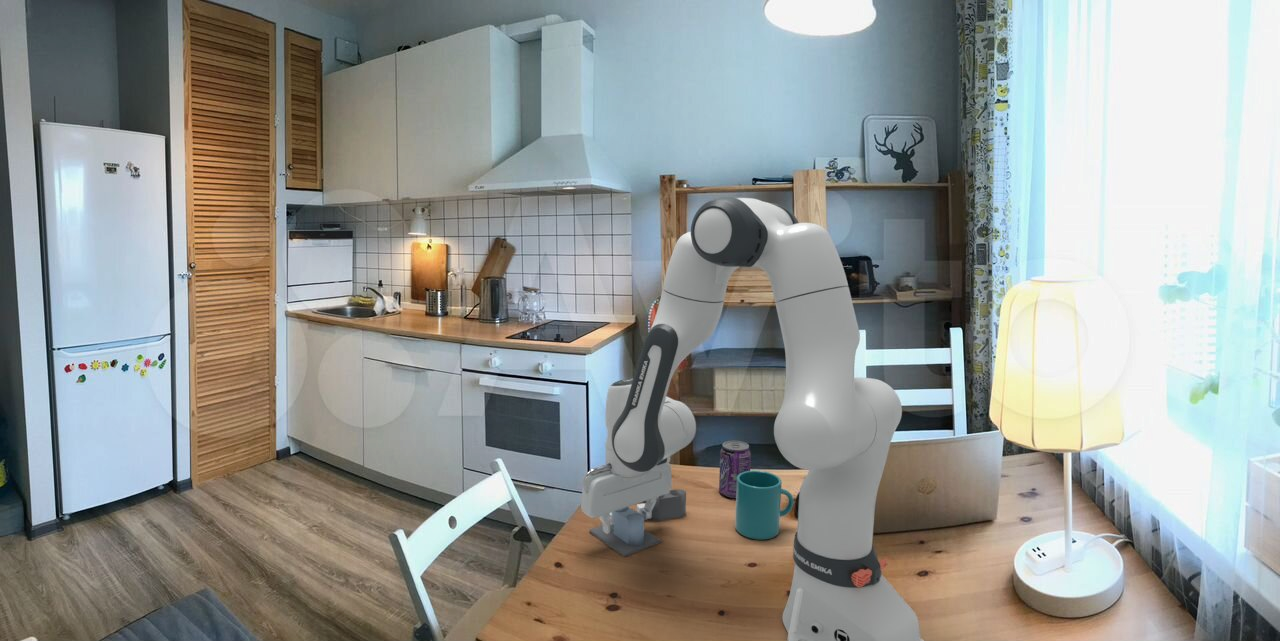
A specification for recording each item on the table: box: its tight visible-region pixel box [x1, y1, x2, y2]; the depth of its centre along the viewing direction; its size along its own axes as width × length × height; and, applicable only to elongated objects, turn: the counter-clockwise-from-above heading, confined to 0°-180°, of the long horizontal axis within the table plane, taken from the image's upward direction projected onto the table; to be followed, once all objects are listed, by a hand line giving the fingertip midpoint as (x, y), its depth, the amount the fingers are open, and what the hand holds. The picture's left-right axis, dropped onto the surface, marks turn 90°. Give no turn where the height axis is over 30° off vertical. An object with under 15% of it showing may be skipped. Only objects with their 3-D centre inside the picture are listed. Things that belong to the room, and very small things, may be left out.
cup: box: [734, 470, 794, 541], centre depth 127 cm, size 9×12×11 cm
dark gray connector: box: [636, 489, 687, 522], centre depth 133 cm, size 11×4×5 cm, turn 108°
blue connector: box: [607, 506, 645, 546], centre depth 124 cm, size 11×4×5 cm, turn 38°
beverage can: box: [718, 440, 752, 499], centre depth 144 cm, size 7×7×12 cm
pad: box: [588, 521, 662, 558], centre depth 124 cm, size 12×9×1 cm
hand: (627, 524), depth 123 cm, fingers open, 8 cm apart
